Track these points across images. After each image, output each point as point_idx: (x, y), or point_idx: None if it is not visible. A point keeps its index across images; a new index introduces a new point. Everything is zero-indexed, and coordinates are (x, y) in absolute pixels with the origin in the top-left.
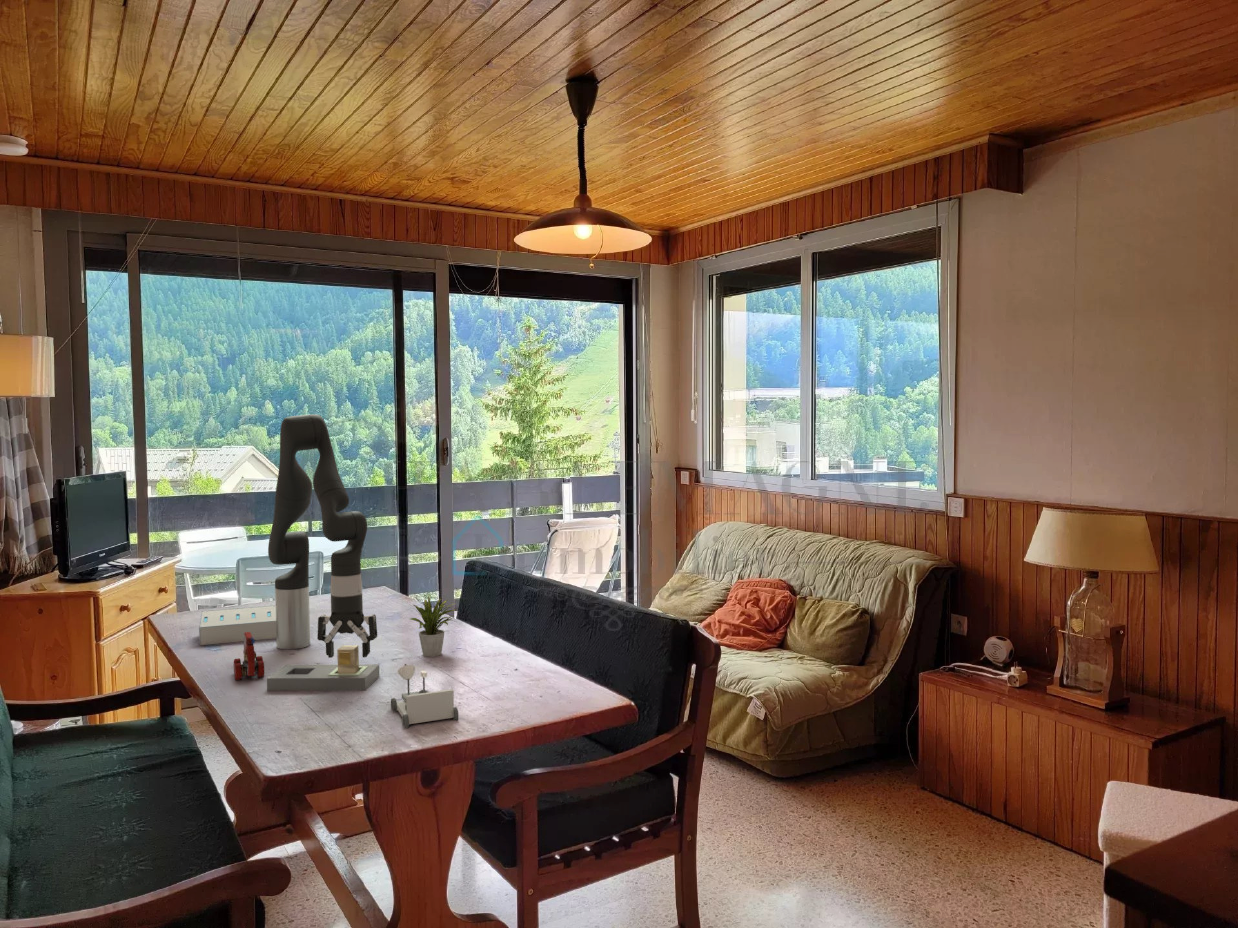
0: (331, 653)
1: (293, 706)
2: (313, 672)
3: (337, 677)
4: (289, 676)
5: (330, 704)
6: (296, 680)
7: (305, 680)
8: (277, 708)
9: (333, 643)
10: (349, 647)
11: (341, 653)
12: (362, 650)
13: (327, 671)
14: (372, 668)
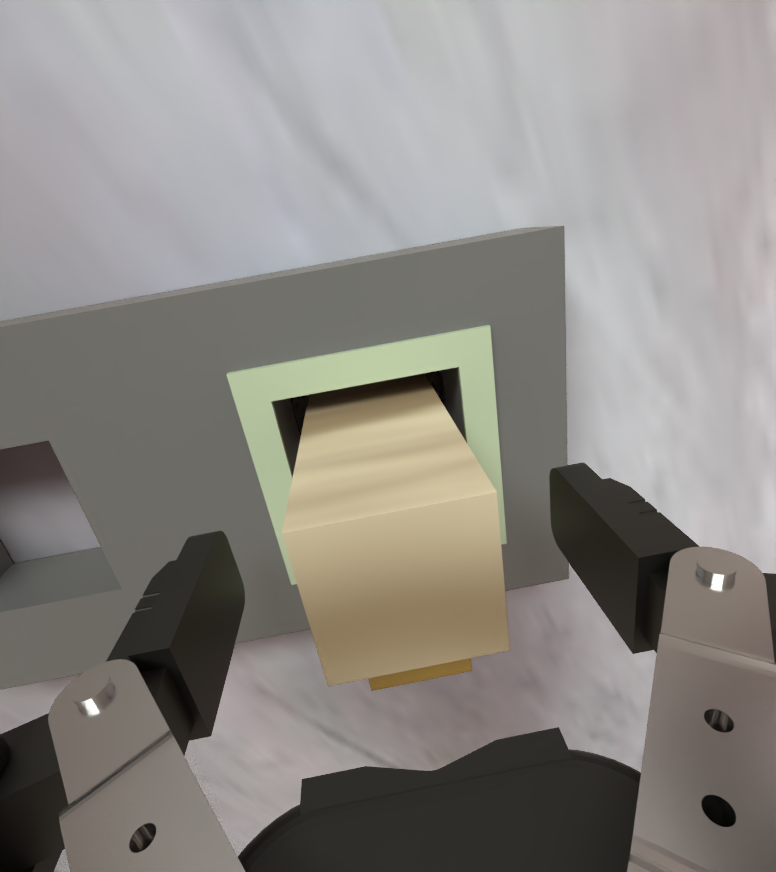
0: (235, 612)
1: (304, 769)
2: (130, 543)
3: None
4: (33, 648)
5: (452, 721)
6: None
7: None
8: (252, 798)
9: (181, 625)
10: (425, 594)
11: (393, 677)
12: (586, 585)
13: (221, 502)
14: (543, 362)
